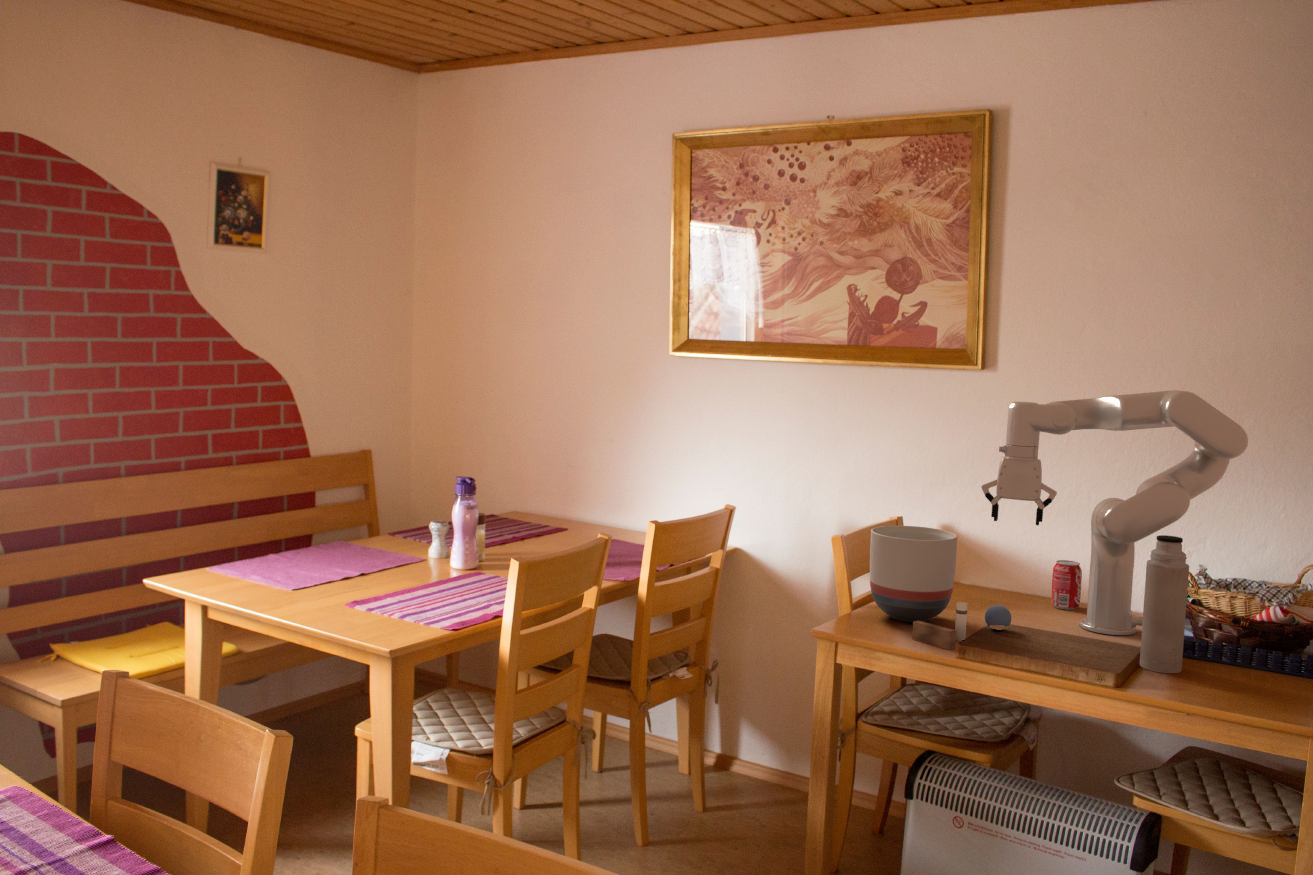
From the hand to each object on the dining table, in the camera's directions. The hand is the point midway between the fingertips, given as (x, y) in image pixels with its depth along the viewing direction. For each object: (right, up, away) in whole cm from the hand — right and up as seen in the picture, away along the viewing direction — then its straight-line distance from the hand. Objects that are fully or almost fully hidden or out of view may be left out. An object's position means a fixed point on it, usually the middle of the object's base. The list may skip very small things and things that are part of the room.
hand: (1016, 522), depth 249 cm
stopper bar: (-26, -25, -20) cm, 42 cm away
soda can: (+19, -24, +17) cm, 35 cm away
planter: (-26, -24, +1) cm, 35 cm away
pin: (-19, -25, -16) cm, 35 cm away
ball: (-7, -22, -8) cm, 24 cm away
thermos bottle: (+19, -28, -33) cm, 47 cm away
